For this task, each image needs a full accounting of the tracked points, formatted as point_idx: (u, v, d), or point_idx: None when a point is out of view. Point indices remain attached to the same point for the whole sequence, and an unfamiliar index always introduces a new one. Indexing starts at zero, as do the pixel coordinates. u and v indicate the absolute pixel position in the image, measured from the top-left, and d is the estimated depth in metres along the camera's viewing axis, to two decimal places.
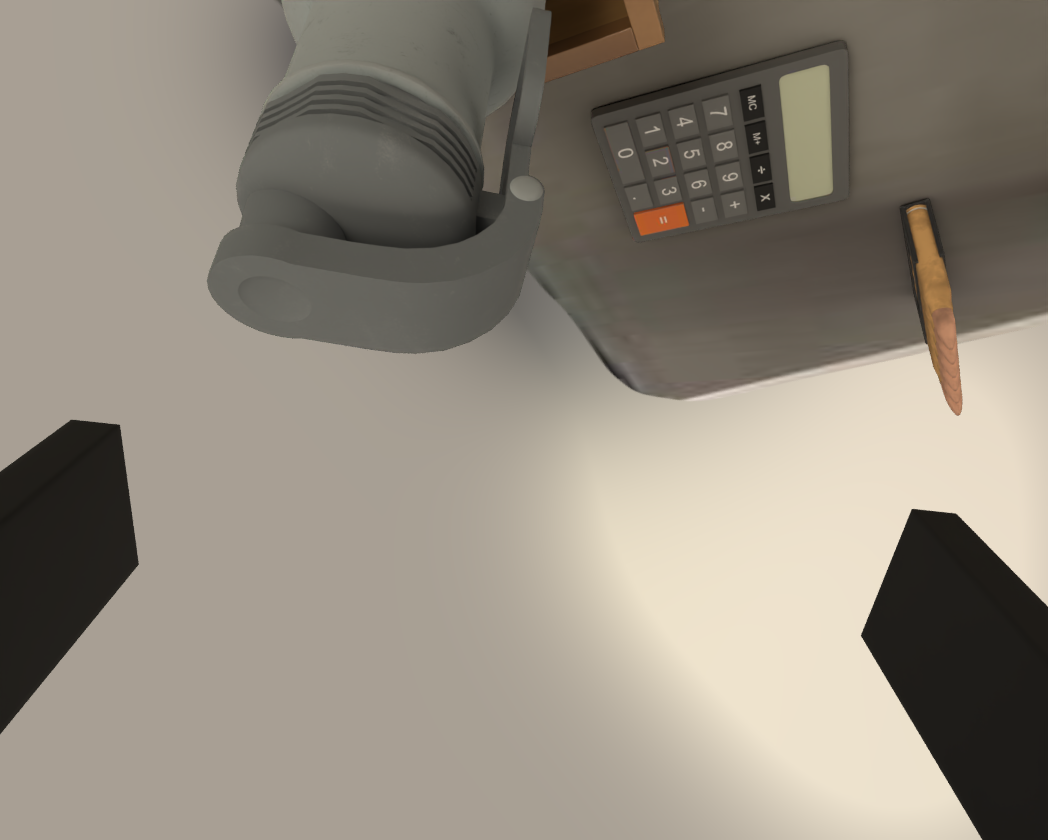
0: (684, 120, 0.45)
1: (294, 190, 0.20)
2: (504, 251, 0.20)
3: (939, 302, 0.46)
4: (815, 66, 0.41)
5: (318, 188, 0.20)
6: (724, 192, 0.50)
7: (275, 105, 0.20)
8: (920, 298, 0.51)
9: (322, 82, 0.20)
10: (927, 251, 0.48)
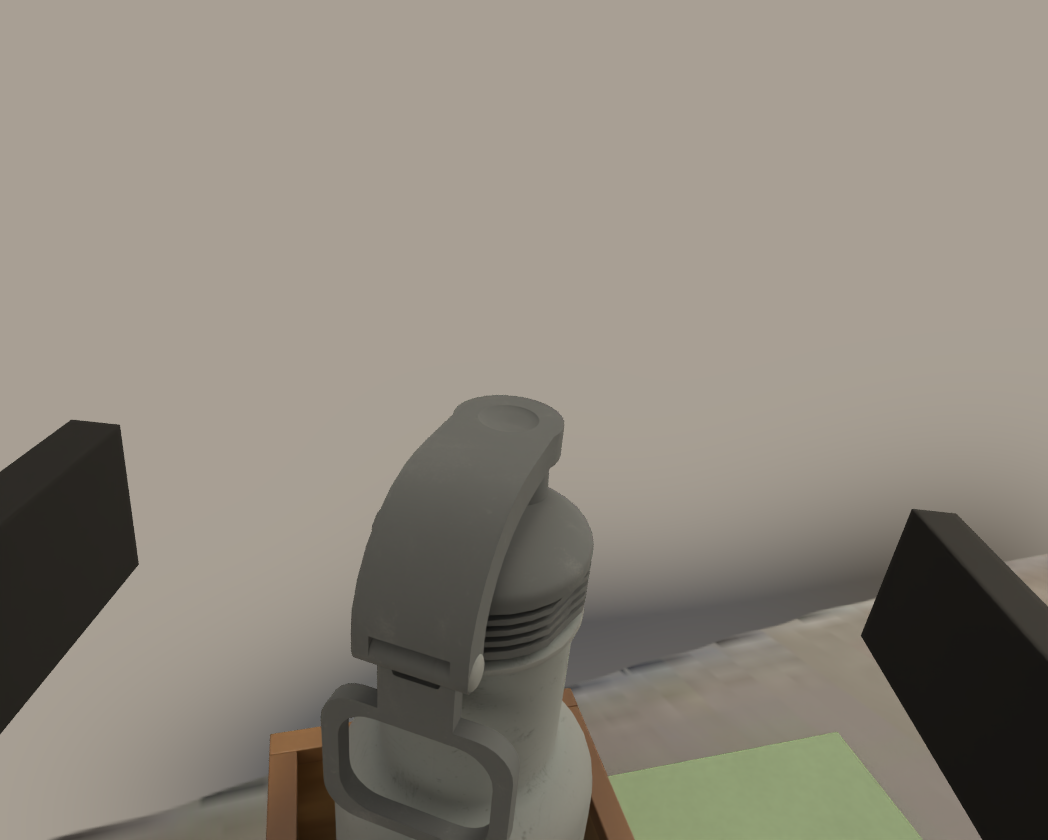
0: None
1: (548, 499, 0.24)
2: (487, 585, 0.18)
3: None
4: None
5: (550, 511, 0.23)
6: None
7: None
8: None
9: None
10: None
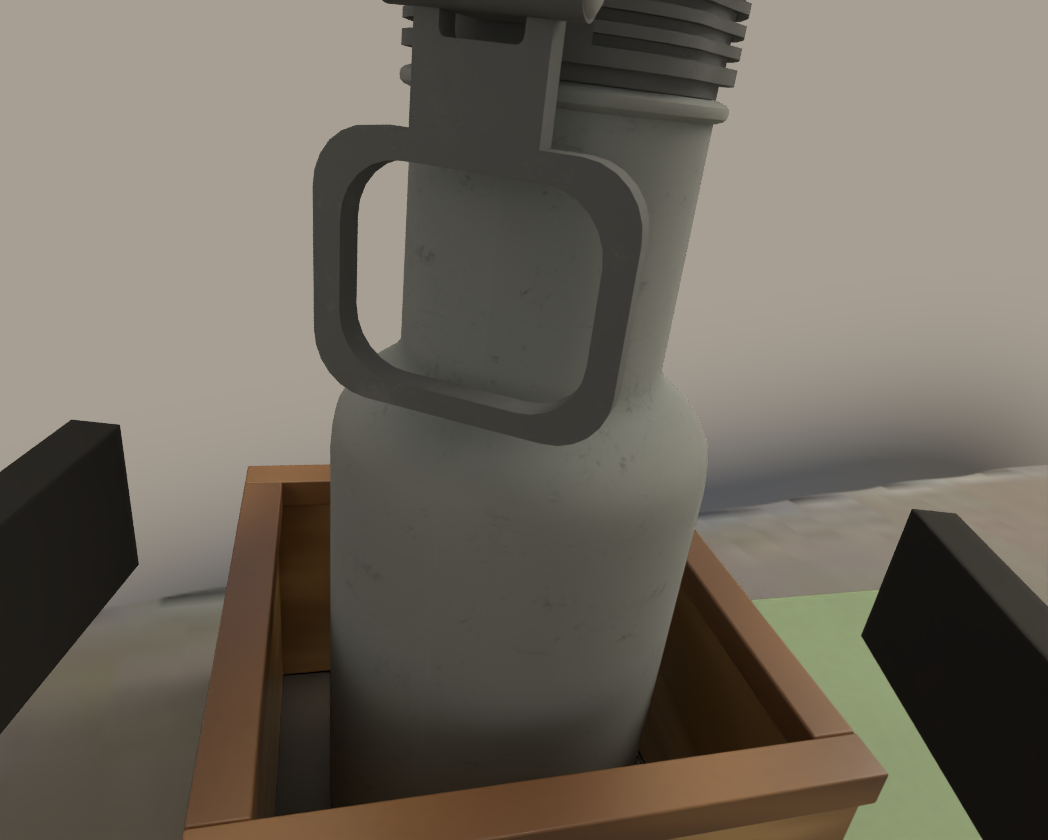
0: None
1: None
2: None
3: None
4: None
5: None
6: None
7: None
8: None
9: None
10: None
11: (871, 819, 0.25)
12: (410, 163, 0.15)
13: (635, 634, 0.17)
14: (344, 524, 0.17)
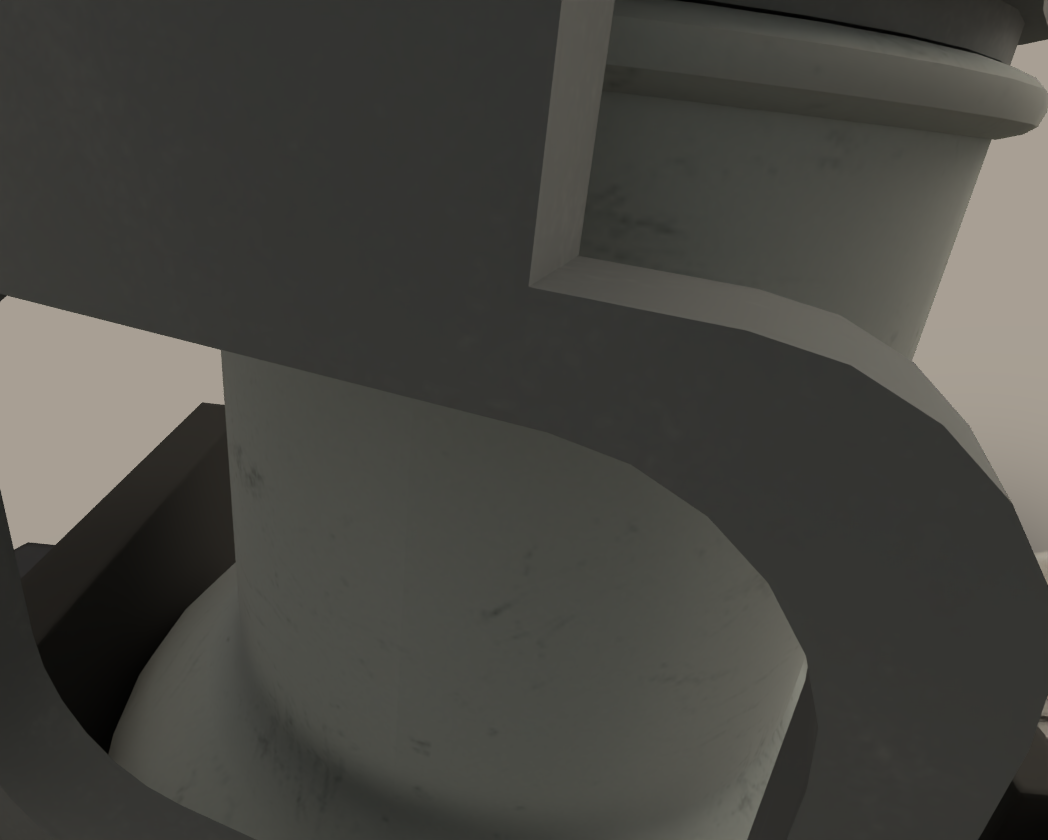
0: None
1: None
2: None
3: None
4: None
5: None
6: None
7: None
8: None
9: None
10: None
11: None
12: None
13: None
14: None
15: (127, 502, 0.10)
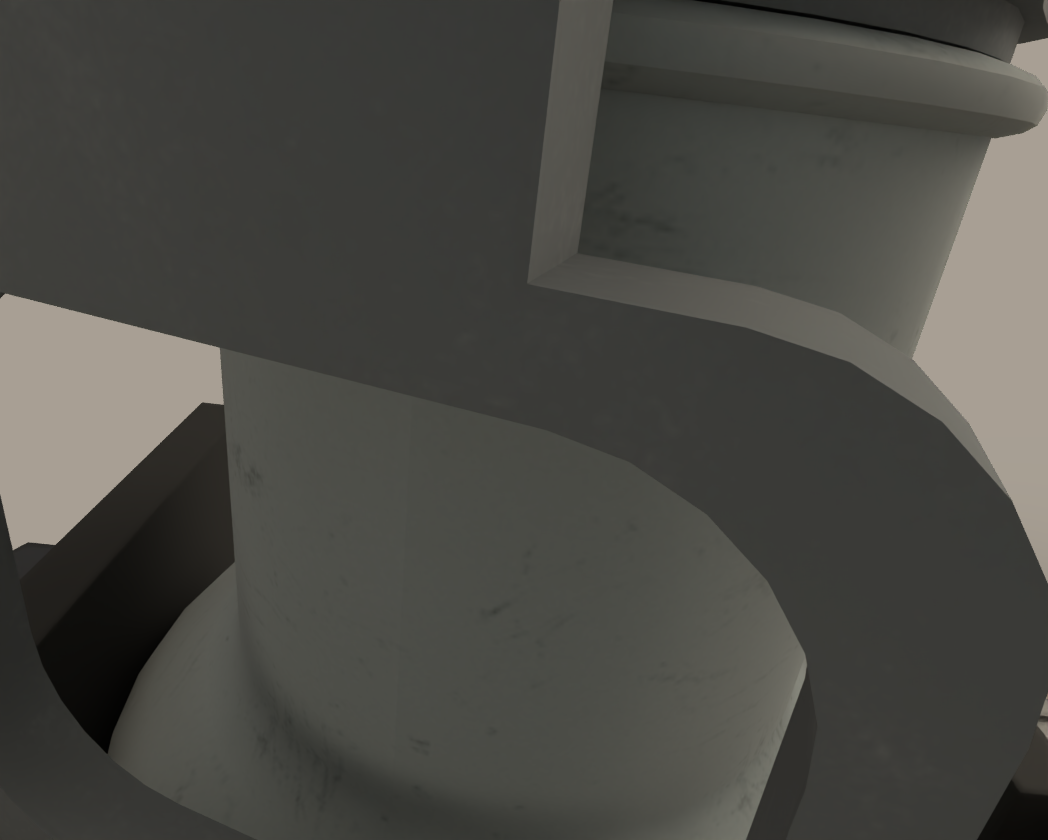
0: None
1: None
2: None
3: None
4: None
5: None
6: None
7: None
8: None
9: None
10: None
11: None
12: None
13: None
14: None
15: (127, 502, 0.10)
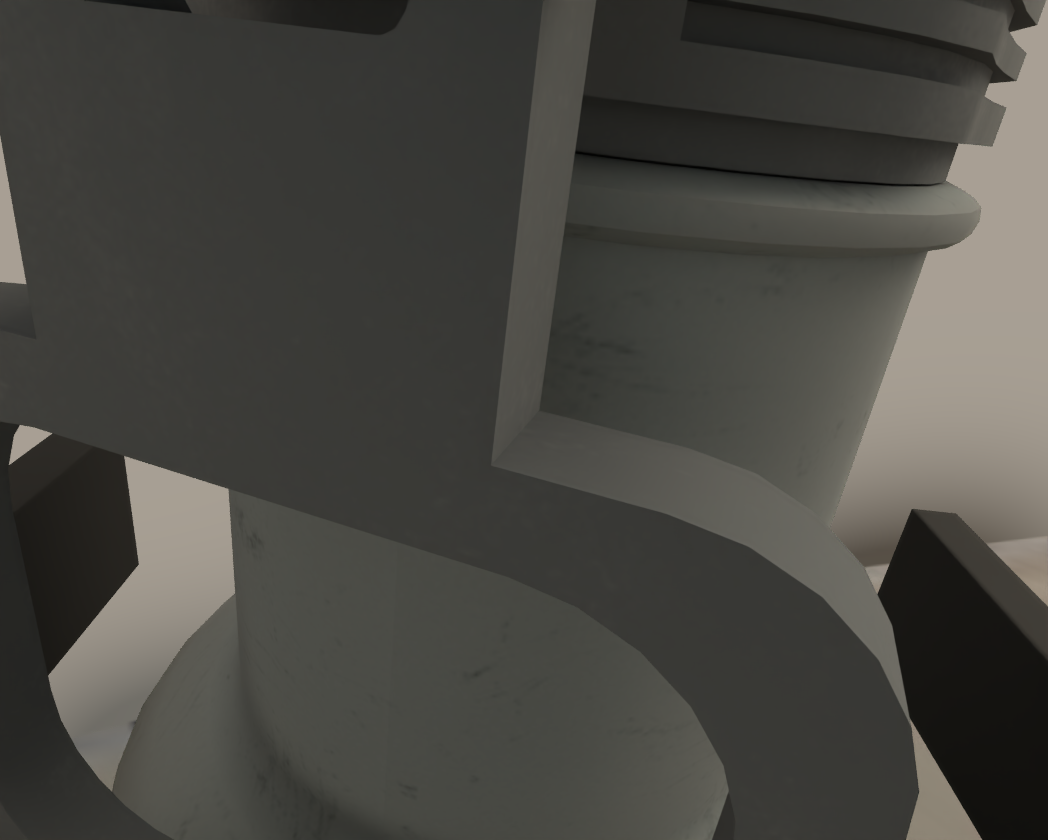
0: None
1: None
2: None
3: None
4: None
5: None
6: None
7: None
8: None
9: None
10: None
11: None
12: None
13: None
14: None
15: None
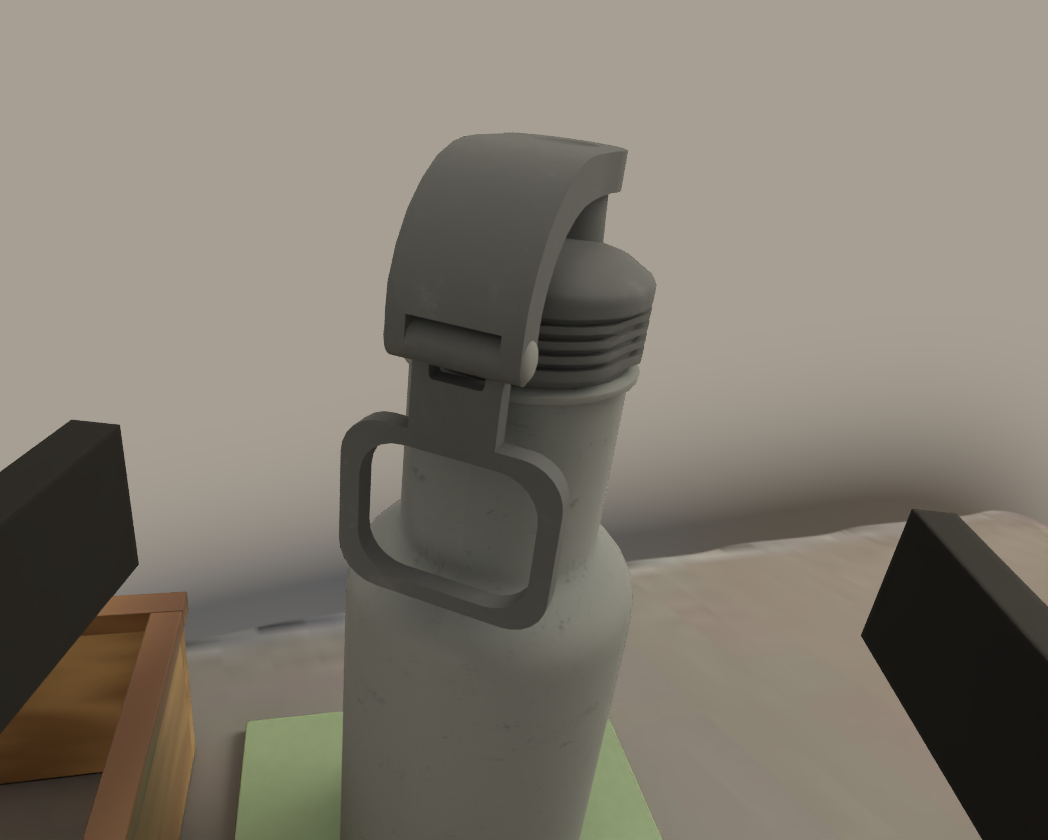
0: None
1: (604, 243, 0.21)
2: (549, 245, 0.15)
3: None
4: None
5: (608, 247, 0.20)
6: None
7: None
8: None
9: None
10: None
11: None
12: (408, 406, 0.21)
13: (574, 740, 0.23)
14: (357, 658, 0.23)
15: None
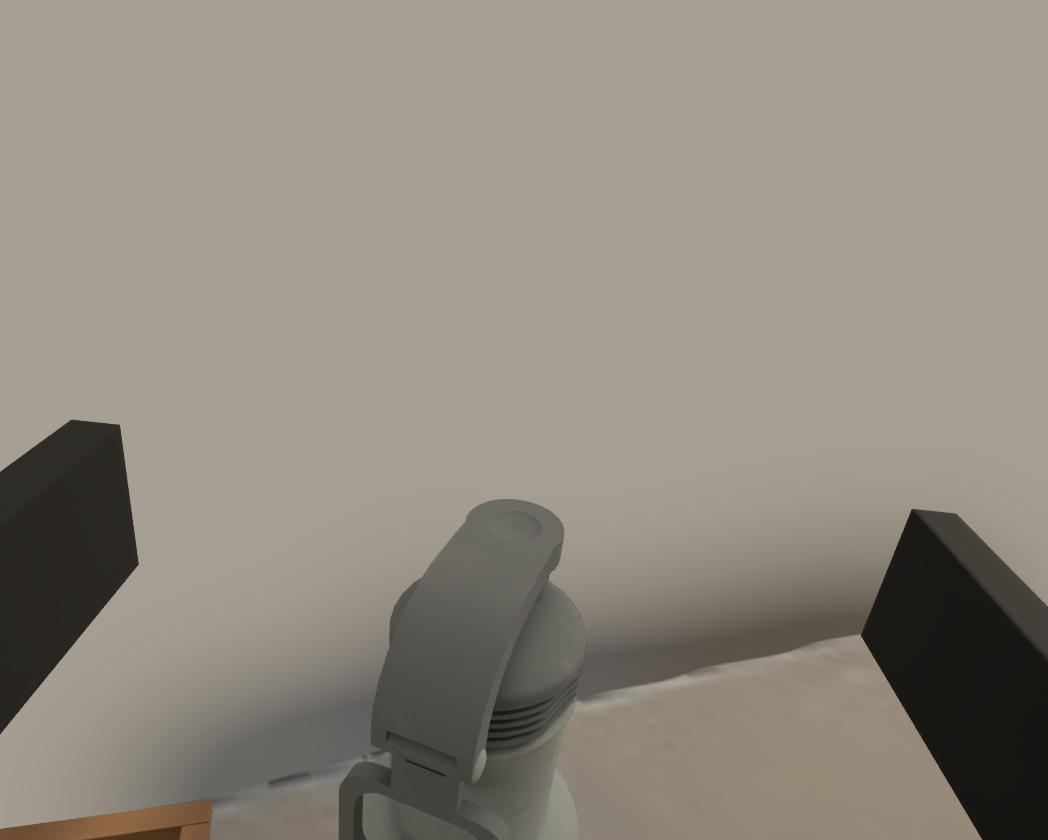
0: None
1: (547, 597, 0.26)
2: (491, 692, 0.21)
3: None
4: None
5: (549, 610, 0.26)
6: None
7: None
8: None
9: None
10: None
11: None
12: None
13: None
14: None
15: None
